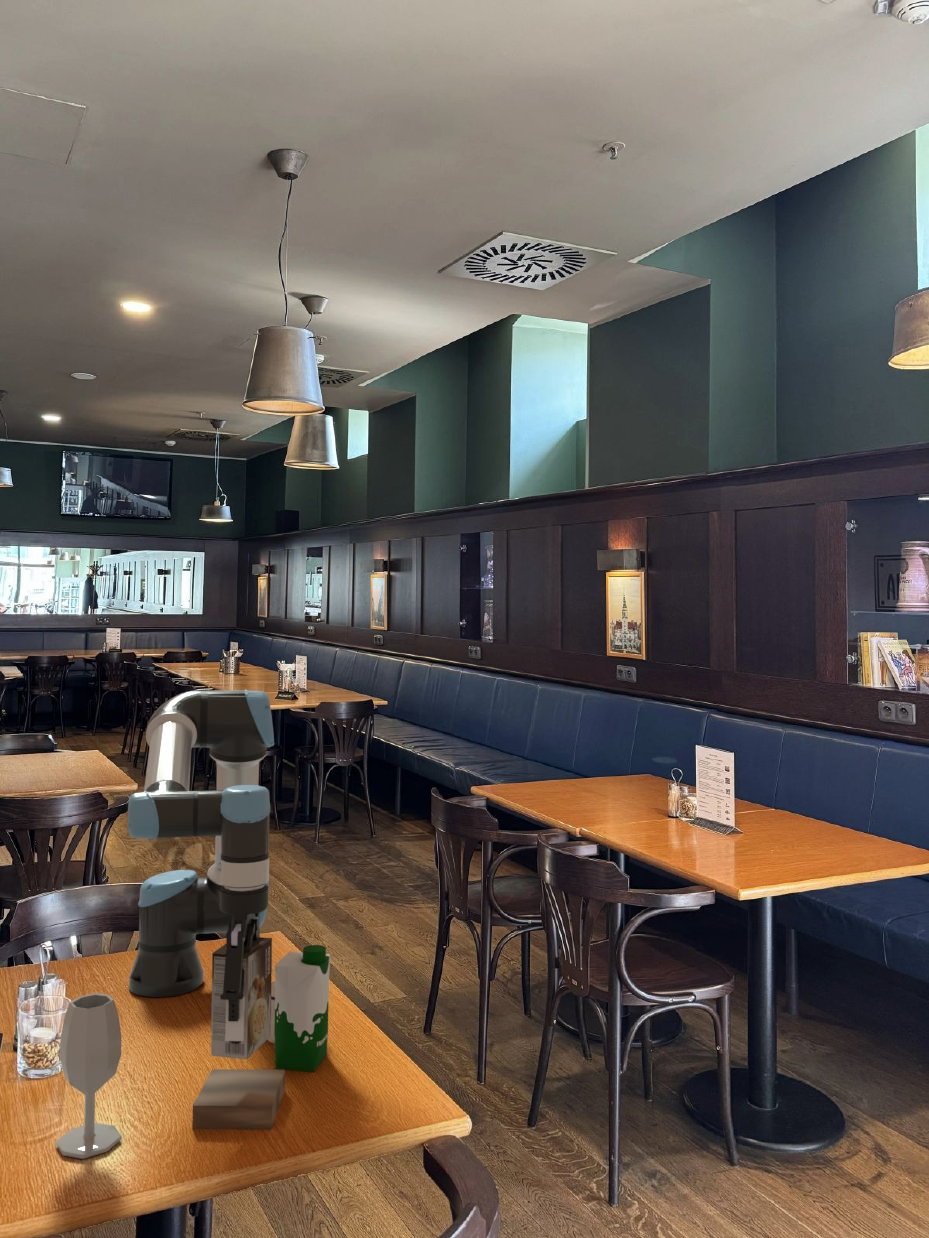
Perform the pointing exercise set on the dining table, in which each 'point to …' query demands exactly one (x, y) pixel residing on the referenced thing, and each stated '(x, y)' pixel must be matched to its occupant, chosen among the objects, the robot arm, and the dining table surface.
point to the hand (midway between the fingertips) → (241, 1025)
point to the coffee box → (256, 1001)
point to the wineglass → (90, 1068)
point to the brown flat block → (239, 1100)
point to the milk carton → (302, 1009)
